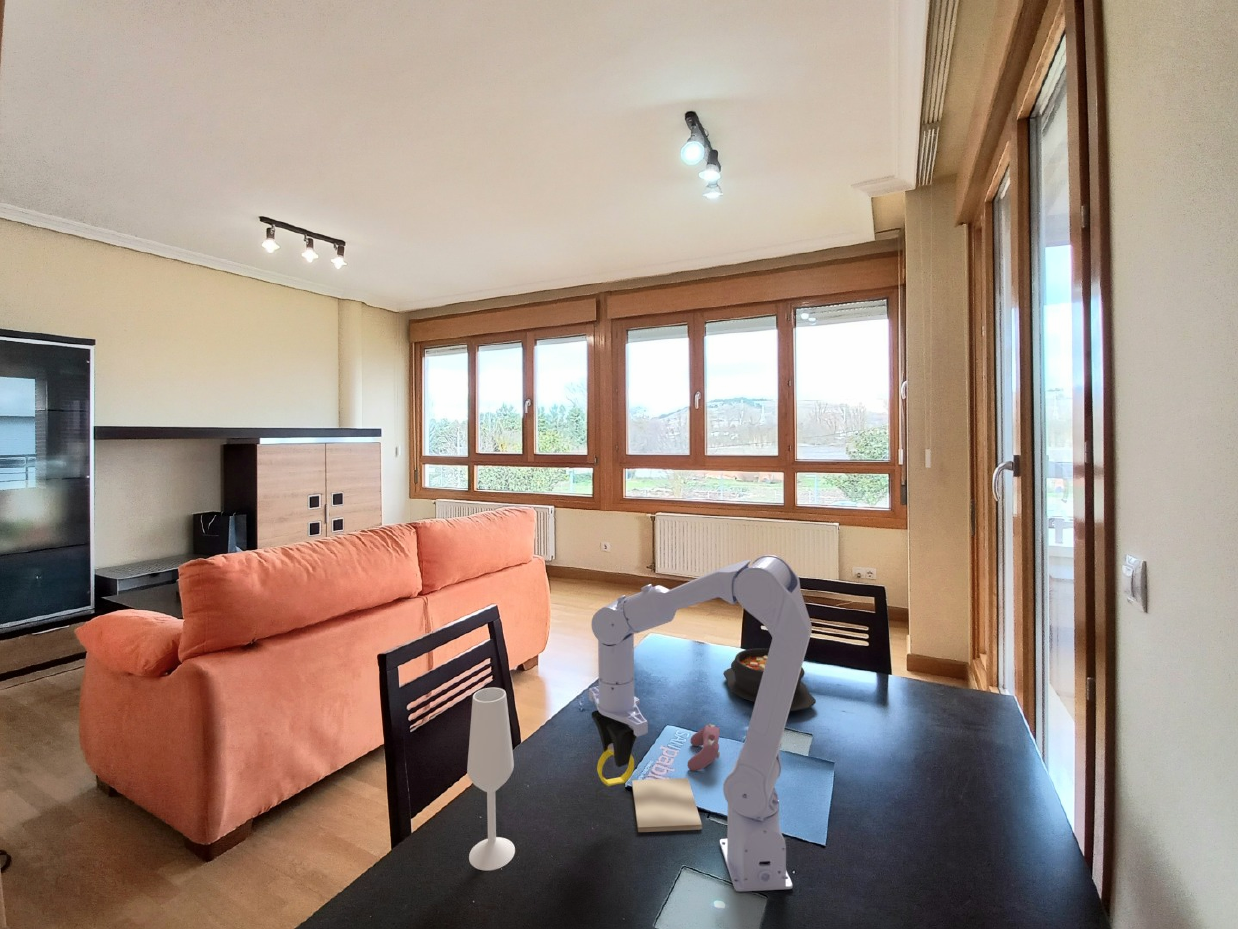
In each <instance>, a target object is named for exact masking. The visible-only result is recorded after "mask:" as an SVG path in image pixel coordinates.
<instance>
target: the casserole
mask: <svg viewBox="0 0 1238 929" xmlns="http://www.w3.org/2000/svg"><path fill="white" fill-rule="evenodd" d="M769 649H770V648H759V647H758V648H750V649H749V648H748V649H745V650H744V649H743V650H742V651H740V652H738V653H737V654H736V655H735V657H734V659H733V661H732V662H731V664H730V668H727V669H725V671H723V676H724V678H725V679H726V682H727V687H728V688H729V690H730V691H731V692H732V693H733V694H735V695H736V696H738V697H740V698H742V699H743V700H747V701H749V702H752V703H755V701H756V698H757V694H758V690H759V687H760V683H761V679H762V675H763V672H764V668H765V664H766V660H767V657H768V653H769ZM805 672H806V671H805V670H804V668H803V667H802V668H801V671H800V675H799V678H798V682H797V685H796V689H795V693H794V696H793V700H792V703H791V707H790V711H789V712H796V711H803V710H805V709H809V708H811V707H812V706H815V704H816V702H817V701H816V700H817V699H816V698H815V697H814V696H813V695H812V694H811V693H810V691H809V689H808V687H807V686H806V684H805V683H804V682H803V681H802V679H803V678H804V676H805Z"/></svg>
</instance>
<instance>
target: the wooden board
mask: <svg viewBox="0 0 1238 929" xmlns="http://www.w3.org/2000/svg"><path fill="white" fill-rule="evenodd" d="M631 786H632V794H633V795H632V796H633V804H634V808H635V817H636V818H635V819H636V826H637V833H650V832H651V833H652V832H655V833H656V832H674V831H696V830H698V831H699V830H702V829H703V825H702V820H701V816H700V813H699V811H698V807H697V806H698V805H697V803H696V800H695V797H694V794H693V791H692V786H691V783H690V780H689V777H680V778H678V777H677V778H658V779H657V778H656V779H655V778H653V779H634V780H633V779H632V780H631Z"/></svg>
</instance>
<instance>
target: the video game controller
mask: <svg viewBox="0 0 1238 929" xmlns="http://www.w3.org/2000/svg"><path fill="white" fill-rule="evenodd" d="M720 731H721V728H720V727H718V726H717V725H715V724H711V723H710V722H709V724H706V725H705V726H703V727H702V728H701V729H700V730H698V731H697V732H696V733H694V734H692V736H691V737H690V741H689V742H690V744H691V745H692V747H701V746H702V749H701V750H700V751H699V752H697V753H696V754H695V755H693V756H692V757H690V758H689V760H688V761H687V769H689V770H690V771H693V772H696V771H697V772H698V771H700V770H701V771H702V770H703V769H704V768H706V767H708V766H709V765H710V764H711V763H713V762H715V759H719V758H720V757H721V756H720V755H721V752H720V751H719V750H720V745H719V739H720Z"/></svg>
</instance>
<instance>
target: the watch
mask: <svg viewBox="0 0 1238 929" xmlns="http://www.w3.org/2000/svg"><path fill="white" fill-rule="evenodd" d="M611 755H612V756H614V748H613V743H611V744H609V746H608V750H606V751H605V752H604V751H603V753H602V754H601V755H600V757H599V759H598V761H597V766H596V771H597V774H598V777H599V778H600V781H601V782H602V783H603V784H604V785H605V786H607V787H610V786H615V785H620V784H625V783H626V782H627V781H628V780H629V779H630V778H631V776H632V775H633V772H634V769H635V759H634V757H633V755H632V754H631V756H630V760H629V763H628V764H627V765H628V766H627V768H626V770H625V772H624V773H623V774H621V776H618V777H614V778H609V779H606V778H605V777H604V776H603V774H602V773H603V768H604V765H605V763H606V762H607V759H608V758H610V757H612V756H611Z"/></svg>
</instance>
